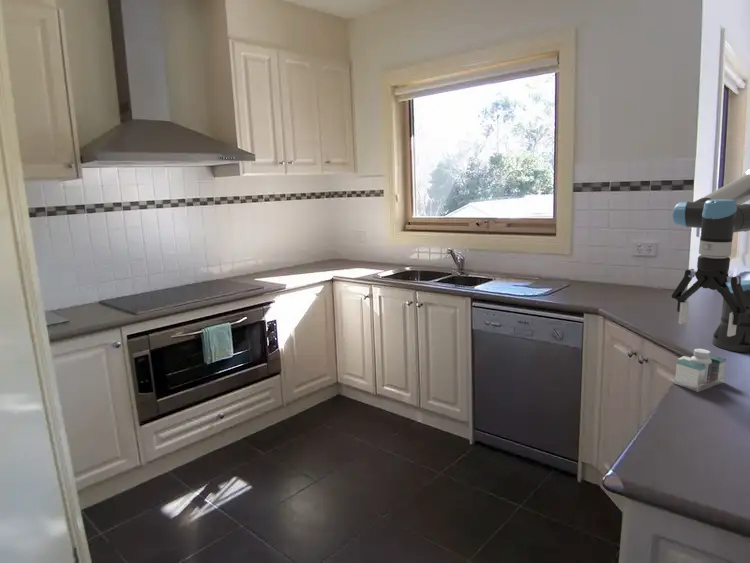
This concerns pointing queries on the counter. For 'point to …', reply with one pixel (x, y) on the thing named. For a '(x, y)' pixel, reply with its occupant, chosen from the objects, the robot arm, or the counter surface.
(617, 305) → the counter surface
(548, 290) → the counter surface
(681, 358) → the block
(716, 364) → the teal white block
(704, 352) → the pill bottle
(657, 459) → the counter surface
